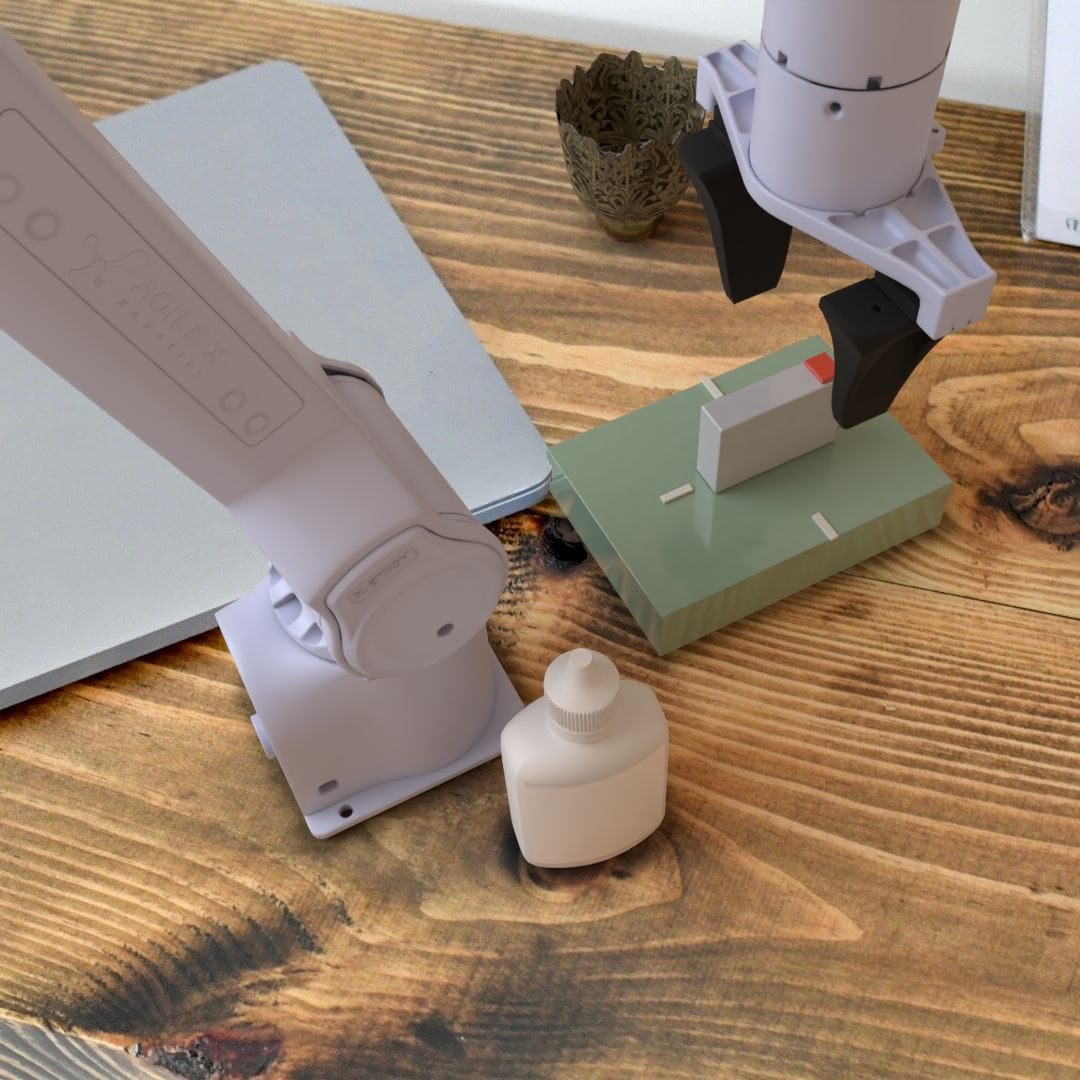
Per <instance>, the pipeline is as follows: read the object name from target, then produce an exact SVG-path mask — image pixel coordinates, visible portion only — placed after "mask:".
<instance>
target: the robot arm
mask: <svg viewBox="0 0 1080 1080" xmlns="http://www.w3.org/2000/svg"><path fill="white" fill-rule="evenodd" d="M763 1H764V3H763V13H762V21H761V22H762V23H761V29H760V39H759V48H758V50H757V49H756V48H755V47H754V46H752V44H750V43H749V42H748V41H747V40H746V39H741V40H739V41H735V42H733V43H730V44H727V45H724V46H721V47H719V48H715V49H713V50H710V51H707V52H705V53H701V54H699V55H698V56H697V70H698V71H697V89H696V101H697V102H698V103H699V104H700V105H701V106H702V107H703V108H704V109H705V110H706V112H708V113H710V114H713V117H712V118H713V119H712V118H711V119H709V120H708V121H707V127H703V129H701V130H699V131H696V132H693V133H691V134H689V135H687V136H685V137H684V138H682V139H681V141H680V142H679V144H678V148H677V158H678V159H679V161H680V163H681V164H682V166H683V167H684V169H685V170H686V172H687V174H688V176H689V178H690V179H691V180H690V182H691V183H692V185H693V187H694V190H695V192H696V194H697V196H698V198H699V201H700V203H701V206H702V208H703V211H704V214H705V217H706V220H707V224H708V226H709V230H710V231H709V232H710V233H711V235H710V236H711V238H712V244H713V247H714V252H715V256H716V261H717V267H718V271H719V274H720V279H721V283H722V287H723V291H724V293H725V296H726V297H727V298H728V299H729V301H730V302H731V303H732V304H733V305H737V304H739V303H742V302H744V301H747V300H749V299H752V298H755V297H757V296H759V295H761V294H764V293H766V292H769V291H772V290H774V289H777V287H778V284H779V283H780V279H781V278H782V274H783V271H784V269H785V267H786V262H787V258H788V254H789V249H790V244H791V243H790V242H791V238H792V233H793V228H795V229H797V230H799V231H801V232H802V233H805V234H807V236H810V237H812V238H814V239H815V240H818V241H820V242H822V243H824V244H826V245H828V246H830V247H831V248H833V249H835V250H837V251H840V252H841V253H843V254H845V255H847V256H848V257H851V258H852V259H854V260H856V261H858V262H860V263H862V264H863V265H866V266H867V267H868V268H869V267H870V268H871V269H874V270H875V271H874V276H873V277H871V278H869V277H866V278H864V279H861V280H859V281H856V282H854V283H851V284H849V285H847V286H845V287H841V288H839V289H837V290H835V291H832V292H830V293H828V294H825V295H822V296H821V297H820V298H819V301H818V308H819V310H820V312H821V313H822V315H823V317H824V319H825V322H826V324H827V327H828V330H829V333H830V337H831V343H832V348H833V349H832V350H833V351H834V362H835V366H834V378H833V387H832V397H831V406H832V413H833V417H834V419H835V420H836V422H837V423H838V424H839V425H840V426H841V427H842V428H843V429H846V430H847V429H850V428H852V427H854V426H856V425H859V424H861V423H863V422H866V421H868V420H870V419H872V418H875V417H877V416H879V415H881V414H884V413H886V412H887V411H889V409H890V408H891V406H892V404H893V402H894V401H895V400H896V397H897V396H898V394H899V393H900V391H901V390H902V389H903V387H904V385H905V384H906V382H907V380H908V379H909V378H910V377H911V375H912V373H913V372H914V371H915V370H916V368H917V367H918V366H919V364H920V363H921V362H922V361H923V360H924V359H925V358H926V356H927V355H928V354H929V353H930V352H931V351H932V350H933V349H934V348H935V347H936V346H937V345H938V344H939V343H940V342H941V341H942V340H943V339H944V338H946V336H948V335H951V334H954V333H956V332H959V331H962V330H964V329H966V328H968V327H969V326H971V325H974V324H976V323H979V322H981V321H983V320H984V319H985V318H986V314H987V310H988V307H989V304H990V301H991V299H992V294H993V291H994V288H995V285H996V282H997V279H998V273H997V272H996V271H995V270H994V269H993V268H992V267H991V266H990V265H989V264H988V262H986V261H985V259H983V257H982V256H981V255H980V254H979V252H978V251H977V250H976V248H975V246H974V245H973V243H972V241H971V240H970V238H969V236H968V234H967V232H966V230H965V228H964V226H963V223H962V222H961V221H962V220H961V219H960V217H959V215H958V212H957V211H956V208H955V207H954V204H953V202H952V199H951V197H950V196H949V194H948V191H947V190H946V187H945V186H944V183H943V181H942V178H941V177H940V175H939V173H938V171H937V168H936V165H935V164H934V162H933V160H932V158H931V157H932V156H935V155H938V154H939V153H941V152H942V151H943V149H944V145H945V140H946V136H947V130H946V129H945V127H944V126H943V125H941V124H940V122H938V121H937V120H936V119H934V118H935V114H936V109H937V105H938V101H939V100H938V99H939V96H940V92H941V89H942V84H943V83H942V82H943V79H944V75H945V74H944V73H945V69H946V66H947V62H948V58H949V54H950V53H949V52H950V49H951V45H952V42H953V37H954V32H955V28H956V23H957V20H958V19H957V18H958V15H959V10H960V5H961V2H962V0H763ZM0 330H1V331H2V332H3V333H5V334H6V335H7V336H8V337H10V338H11V339H12V340H13V341H15V342H16V343H17V344H18V345H20V346H21V347H22V348H23V349H24V350H26V351H27V352H28V353H30V354H31V355H32V356H33V357H35V358H36V359H37V360H39V361H40V362H41V363H42V364H44V365H45V366H47V367H48V368H49V369H50V370H51V371H52V372H54V373H55V374H56V375H58V376H59V377H60V378H61V379H62V380H64V381H65V382H66V383H68V384H69V385H70V386H71V387H72V388H74V389H76V390H77V391H78V393H80V394H82V395H83V396H84V397H86V398H87V399H88V400H89V401H90V402H91V403H93V404H94V405H96V407H98V408H100V410H102V411H103V412H104V413H106V414H107V415H108V416H110V418H112V419H113V420H115V421H116V423H118V424H120V425H121V426H122V427H123V428H125V429H126V430H127V431H128V432H130V434H132V435H133V436H135V437H136V438H137V439H139V441H141V442H142V443H144V444H145V445H146V446H148V447H149V448H150V449H151V450H153V451H154V452H155V453H156V454H157V455H158V456H160V457H161V458H162V459H164V460H165V461H167V462H168V463H169V464H170V465H172V466H173V467H174V468H175V469H176V470H178V471H179V472H181V473H182V474H183V475H184V476H186V477H187V478H188V479H189V480H191V482H193V483H194V484H196V486H198V487H199V488H201V489H202V490H203V491H205V492H206V493H207V494H208V495H210V496H211V497H212V498H213V499H214V500H216V501H217V502H218V503H220V505H222V506H223V507H224V508H225V510H227V512H228V513H229V514H230V515H231V516H232V517H233V519H234V520H235V521H236V522H237V524H238V525H239V526H240V527H241V528H242V530H243V531H244V532H245V534H246V535H247V536H248V537H249V538H250V540H251V541H252V542H253V543H254V544H255V546H256V547H257V548H258V549H259V551H260V552H261V553H262V554H263V555H264V557H265V558H267V560H268V561H267V562H268V564H267V572H268V574H267V575H266V576H265V577H264V578H263V579H261V581H260V582H258V584H257V585H256V586H254V587H253V588H252V589H250V590H249V591H247V593H245V594H244V595H242V596H240V598H238V599H236V600H235V601H233V602H231V603H229V604H228V605H226V606H224V607H223V608H221V609H219V610H218V611H217V612H215V613H214V617H215V619H216V622H217V625H218V626H219V629H220V632H221V635H222V637H223V639H224V641H225V643H226V646H227V648H228V651H229V653H230V655H231V657H232V660H233V662H234V664H235V667H236V669H237V671H238V674H239V677H240V679H241V680H242V682H243V685H244V687H245V690H246V692H247V694H248V696H249V699H250V701H251V703H252V705H253V708H254V710H255V712H256V713H254V714H252V715H250V720H251V723H252V726H253V727H254V730H255V732H256V735H257V737H258V739H259V741H260V744H261V746H262V749H263V751H264V753H265V755H266V757H267V760H272V759H274V758H276V759H277V761H278V763H279V765H280V768H281V769H282V772H283V774H284V776H285V778H286V781H287V783H288V785H289V787H290V790H291V792H292V793H293V796H294V798H295V801H296V802H297V804H298V807H299V809H300V811H301V813H302V815H303V818H304V820H305V823H306V824H307V827H308V829H309V831H310V833H311V834H312V836H313V837H314V838H316V839H319V840H325V839H327V838H330V837H332V836H334V835H336V834H338V833H341V832H343V831H345V830H347V829H349V828H351V827H353V826H355V825H358V824H360V823H362V822H364V821H365V820H369V819H370V818H373V817H374V816H376V815H379V814H381V813H383V812H385V811H387V810H389V809H391V808H393V807H395V806H397V805H400V804H401V803H403V802H405V801H408V800H410V799H412V798H414V797H416V796H418V795H421V794H422V793H425V792H426V791H429V790H431V789H433V788H435V787H437V786H439V785H442V784H444V783H446V782H447V781H449V780H450V781H451V780H452V779H454V778H456V777H458V776H460V775H462V774H464V773H466V772H468V771H471V770H473V769H474V768H477V767H479V766H481V765H483V764H486V763H488V762H489V761H492V760H494V759H495V758H498V757H500V756H502V753H501V733H502V731H503V730H504V728H505V726H506V724H507V723H508V722H509V721H510V720H511V719H512V718H513V717H514V716H516V715H517V714H518V713H519V712H520V711H521V710H523V709H524V708H525V707H526V706H525V704H524V702H523V700H522V699H521V697H520V695H519V694H518V692H517V690H516V688H515V686H514V685H513V683H512V681H511V679H510V677H509V676H508V673H506V671H505V669H504V668H503V666H502V664H501V662H500V661H499V659H498V657H497V654H496V653H495V652H494V650H493V647H491V644H490V643H489V636H488V629H487V622H488V621H489V619H490V618H491V617H492V615H493V613H494V612H495V610H496V608H497V606H498V604H499V602H500V599H501V597H502V595H503V593H504V591H505V589H506V585H507V582H508V579H509V572H510V560H509V555H508V552H507V550H506V548H505V545H504V544H503V543H502V542H501V541H500V539H499V538H498V537H497V536H496V535H495V534H494V533H493V532H492V531H490V530H489V529H488V528H487V527H486V526H485V525H483V524H481V522H479V520H478V519H477V518H476V517H475V515H474V514H473V513H472V511H471V510H470V509H469V508H468V506H467V505H466V504H465V502H464V501H463V500H462V498H461V497H460V496H459V495H458V494H457V492H456V491H455V489H454V488H453V487H452V485H451V484H450V483H449V482H448V481H447V479H446V477H444V475H443V474H442V473H441V471H440V470H439V469H438V467H437V466H436V465H435V464H434V462H433V461H432V460H431V458H430V457H429V456H428V454H427V453H426V452H425V450H424V449H423V448H422V447H421V445H420V444H419V442H418V441H417V440H416V439H415V437H414V436H413V435H412V433H410V431H409V430H408V429H407V427H406V426H405V425H404V423H403V422H402V421H401V420H400V418H399V417H398V415H397V414H396V413H395V412H394V410H393V409H392V408H391V406H390V405H389V404H388V403H387V401H386V398H385V395H384V392H383V389H382V387H381V386H380V385H379V383H378V382H377V381H376V380H375V379H374V378H373V376H372V375H371V373H369V372H367V370H365V369H363V368H362V367H360V366H359V365H356V364H354V363H352V362H350V361H345V360H340V359H334V358H331V357H326V356H323V355H321V354H318V353H316V351H313V350H311V349H310V348H309V347H308V346H307V345H306V344H305V342H303V340H301V339H300V338H299V337H298V335H296V333H295V332H294V331H293V330H291V329H283V328H282V327H281V326H280V325H279V323H277V321H276V320H275V319H274V318H273V317H272V316H271V315H270V314H269V313H268V312H267V311H266V310H265V308H264V307H263V306H262V305H261V304H260V303H259V302H258V301H257V300H256V299H255V298H254V297H253V295H251V293H250V292H249V291H248V290H247V289H246V288H245V287H244V286H243V284H242V283H241V282H240V281H238V279H237V278H236V277H235V276H234V275H233V274H232V272H230V271H229V269H228V268H226V267H225V265H223V263H222V262H221V261H220V259H218V258H217V257H216V255H214V253H213V252H212V251H211V250H210V249H209V248H208V247H207V246H206V245H205V243H204V242H202V240H201V239H200V238H199V237H198V236H197V235H196V234H195V233H194V231H193V230H191V229H190V228H189V226H188V225H187V224H186V223H185V221H183V220H182V219H181V218H180V217H179V216H178V214H176V212H175V211H174V210H173V209H172V208H171V207H170V206H169V205H168V204H167V202H166V201H165V200H164V199H163V198H162V197H161V196H160V195H159V194H158V193H157V192H156V191H155V189H154V188H153V187H151V185H150V184H149V183H148V182H147V181H146V180H145V179H144V177H142V175H141V174H140V173H139V172H138V171H137V170H136V169H135V168H134V167H133V166H132V164H130V162H128V160H126V158H125V157H124V156H123V155H122V153H120V152H119V151H118V150H117V148H116V147H115V146H114V145H113V144H112V143H111V142H110V141H109V140H108V139H107V138H106V136H104V134H103V133H102V132H101V131H100V130H99V129H98V128H97V127H96V126H95V125H94V124H93V123H92V121H91V120H90V119H89V118H88V117H87V116H86V115H85V114H84V113H83V111H81V110H80V109H79V107H78V106H77V105H76V104H75V103H74V102H73V100H71V99H70V98H69V96H67V94H66V93H65V92H64V91H63V90H62V89H61V88H60V86H58V85H57V84H56V83H55V82H54V81H53V79H52V78H51V77H50V76H49V75H48V74H47V73H46V72H45V71H44V70H43V68H42V67H41V66H40V65H39V64H38V63H37V62H36V61H35V60H34V59H33V58H32V57H31V56H30V54H28V52H27V51H26V50H25V49H24V48H23V47H22V46H21V45H20V43H18V41H17V40H16V39H15V38H14V37H13V36H12V35H11V34H10V33H9V32H8V30H6V28H5V27H4V26H3V25H2V24H1V23H0ZM348 810H350V811H352V813H351V815H349V816H347V817H343V816H342V814H343V813H344V812H345V811H348Z"/></svg>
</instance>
